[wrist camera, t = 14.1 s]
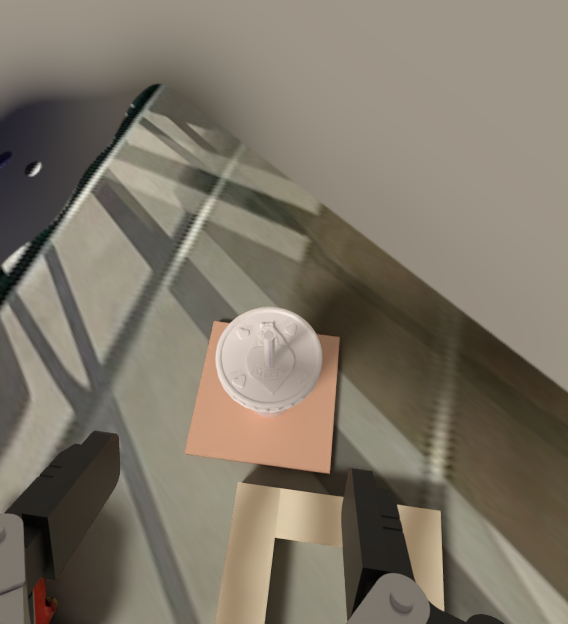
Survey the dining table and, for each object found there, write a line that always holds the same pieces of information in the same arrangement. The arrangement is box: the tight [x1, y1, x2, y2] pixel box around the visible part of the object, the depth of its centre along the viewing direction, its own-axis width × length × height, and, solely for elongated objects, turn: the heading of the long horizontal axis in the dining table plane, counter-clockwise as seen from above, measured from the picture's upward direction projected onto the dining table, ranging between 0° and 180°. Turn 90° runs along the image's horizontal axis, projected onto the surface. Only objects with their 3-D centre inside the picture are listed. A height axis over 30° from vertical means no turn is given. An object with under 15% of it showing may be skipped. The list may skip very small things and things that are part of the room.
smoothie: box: [215, 307, 322, 417], centre depth 26 cm, size 6×6×14 cm
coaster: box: [185, 321, 340, 474], centre depth 32 cm, size 11×11×1 cm
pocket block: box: [215, 482, 444, 624], centre depth 25 cm, size 14×14×2 cm
